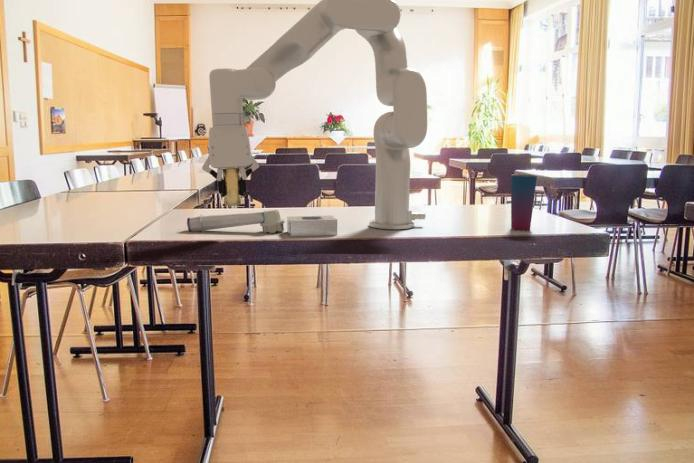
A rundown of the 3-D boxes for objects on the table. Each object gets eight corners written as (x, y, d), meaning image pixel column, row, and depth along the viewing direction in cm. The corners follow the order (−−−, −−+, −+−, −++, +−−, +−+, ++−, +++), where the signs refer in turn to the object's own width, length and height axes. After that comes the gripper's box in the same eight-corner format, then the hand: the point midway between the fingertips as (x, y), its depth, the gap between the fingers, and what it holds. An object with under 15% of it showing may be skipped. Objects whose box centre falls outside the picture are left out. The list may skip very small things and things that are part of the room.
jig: (331, 230, 159) (331, 215, 158) (337, 234, 152) (337, 219, 152) (287, 231, 156) (286, 216, 155) (291, 236, 149) (290, 220, 149)
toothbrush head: (190, 215, 158) (282, 203, 157) (194, 239, 159) (286, 228, 158) (185, 218, 153) (280, 206, 152) (189, 243, 154) (284, 231, 153)
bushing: (240, 203, 150) (238, 167, 148) (241, 205, 146) (239, 168, 144) (224, 203, 149) (222, 168, 147) (225, 206, 145) (223, 169, 144)
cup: (523, 226, 168) (527, 173, 165) (538, 230, 162) (542, 176, 159) (503, 227, 166) (506, 174, 163) (517, 231, 159) (520, 176, 157)
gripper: (260, 120, 149) (264, 192, 153) (192, 122, 145) (198, 195, 149) (264, 120, 142) (267, 195, 146) (192, 122, 138) (198, 199, 142)
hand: (232, 195), depth 147 cm, fingers closed on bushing, 4 cm apart
